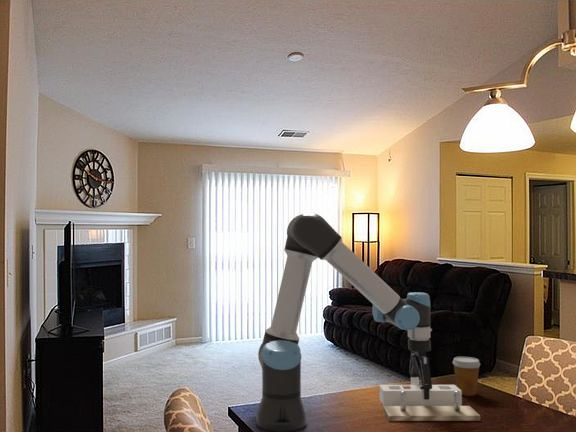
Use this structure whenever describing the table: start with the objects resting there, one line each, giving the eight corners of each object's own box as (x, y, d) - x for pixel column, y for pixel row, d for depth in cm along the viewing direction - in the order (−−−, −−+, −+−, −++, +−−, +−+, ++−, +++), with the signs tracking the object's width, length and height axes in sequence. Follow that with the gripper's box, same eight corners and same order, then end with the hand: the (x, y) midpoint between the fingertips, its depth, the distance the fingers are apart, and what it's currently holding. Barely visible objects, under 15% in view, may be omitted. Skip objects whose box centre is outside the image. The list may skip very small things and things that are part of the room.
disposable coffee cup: (485, 392, 184) (484, 359, 184) (474, 399, 177) (474, 364, 177) (459, 387, 190) (458, 355, 191) (448, 393, 183) (448, 359, 183)
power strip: (383, 406, 169) (383, 389, 169) (379, 399, 176) (379, 383, 176) (461, 406, 169) (461, 388, 170) (454, 399, 176) (454, 382, 176)
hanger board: (388, 420, 156) (388, 415, 156) (383, 410, 165) (383, 406, 165) (480, 420, 156) (480, 415, 156) (469, 410, 165) (469, 405, 165)
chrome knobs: (401, 414, 159) (400, 392, 160) (399, 412, 161) (399, 390, 161) (461, 414, 159) (460, 392, 160) (459, 412, 161) (458, 390, 162)
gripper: (441, 346, 161) (442, 414, 160) (420, 331, 186) (421, 391, 185) (417, 346, 161) (418, 414, 160) (399, 331, 186) (400, 391, 185)
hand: (420, 402), depth 173 cm, fingers open, 13 cm apart
